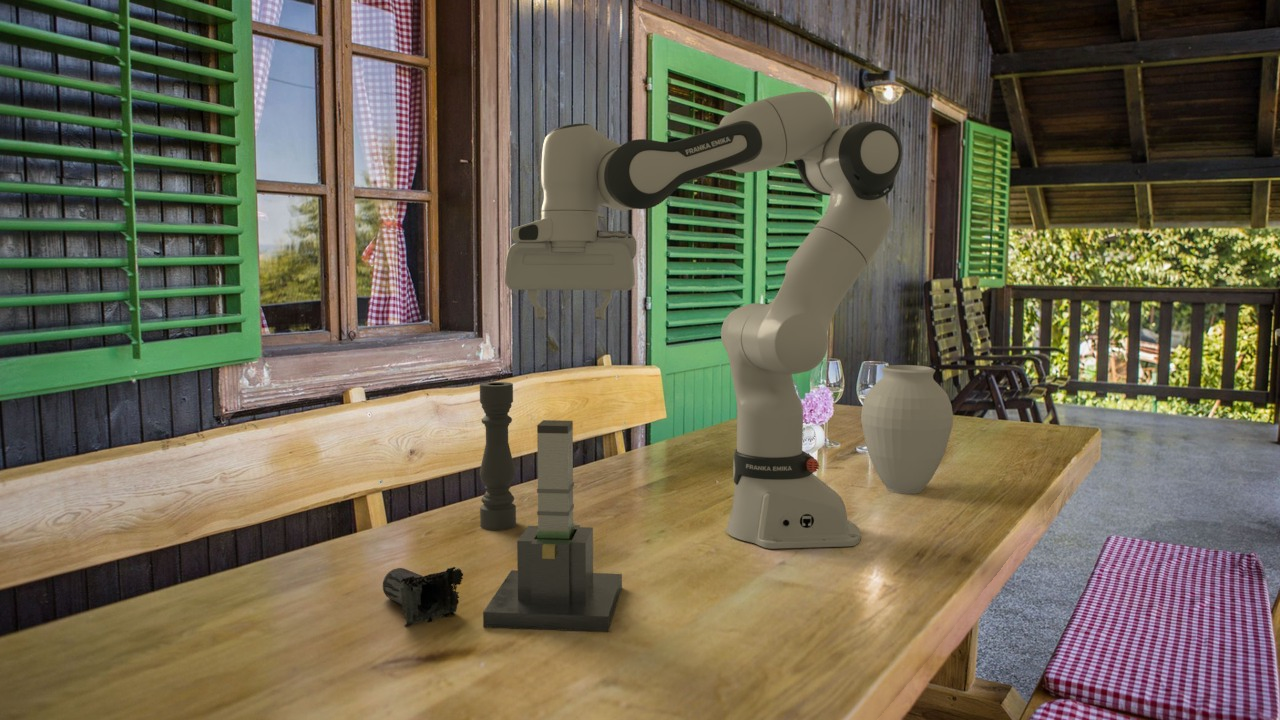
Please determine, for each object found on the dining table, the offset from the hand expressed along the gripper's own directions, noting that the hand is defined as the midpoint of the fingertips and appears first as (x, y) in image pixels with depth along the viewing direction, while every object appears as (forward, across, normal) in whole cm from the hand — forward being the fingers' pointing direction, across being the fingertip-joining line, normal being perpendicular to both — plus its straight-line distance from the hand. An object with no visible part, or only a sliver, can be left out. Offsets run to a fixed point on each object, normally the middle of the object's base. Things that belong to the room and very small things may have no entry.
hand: (570, 319), depth 147 cm
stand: (+37, -2, +25) cm, 45 cm away
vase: (+37, -61, -45) cm, 85 cm away
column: (+29, -2, +25) cm, 38 cm away
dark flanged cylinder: (+38, +17, +27) cm, 49 cm away
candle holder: (+37, +15, -12) cm, 42 cm away
